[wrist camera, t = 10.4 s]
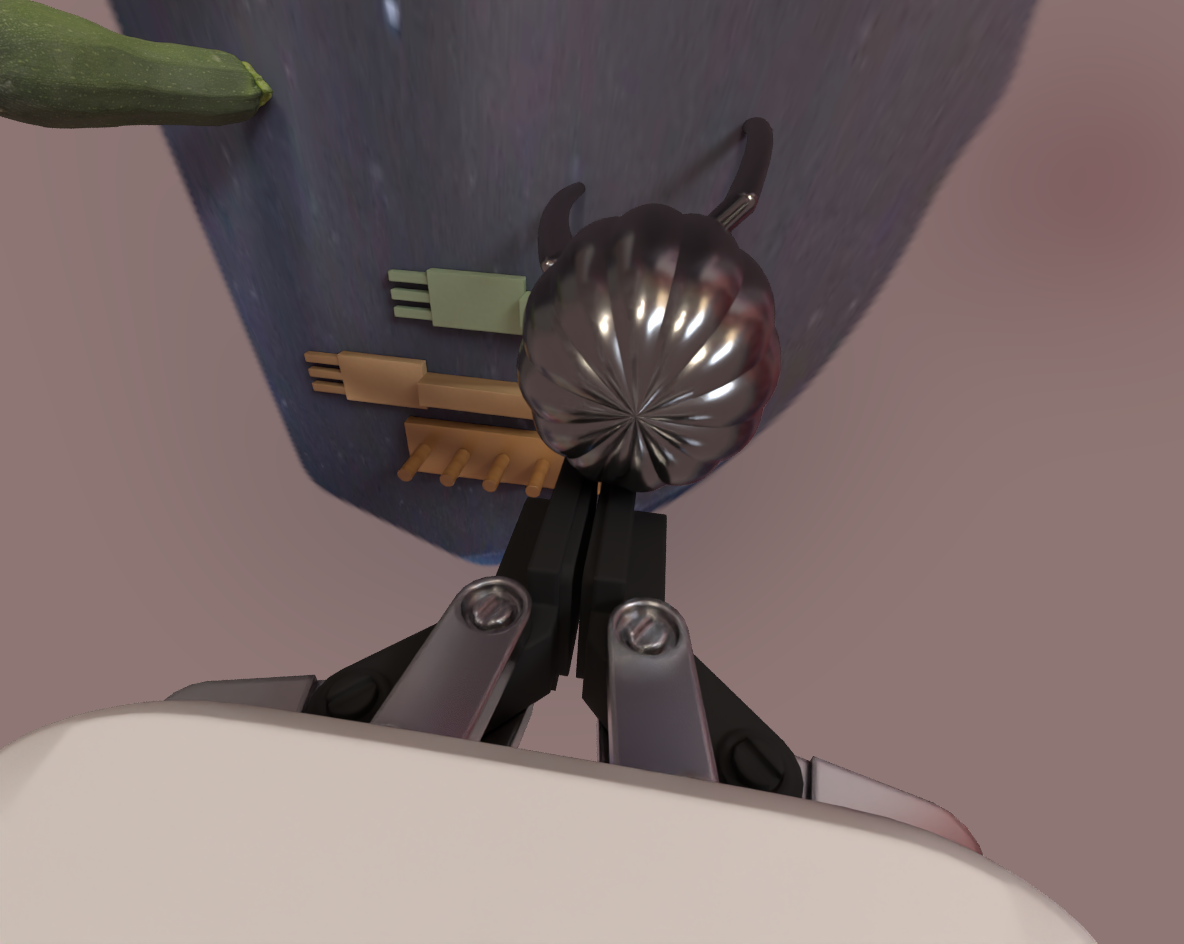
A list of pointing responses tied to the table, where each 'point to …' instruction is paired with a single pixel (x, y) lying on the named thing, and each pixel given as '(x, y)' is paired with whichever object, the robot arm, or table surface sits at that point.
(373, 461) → the table surface
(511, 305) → the sage fork
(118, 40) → the vegetable
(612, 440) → the juicer
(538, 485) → the rack
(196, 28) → the table surface
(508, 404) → the birch fork
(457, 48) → the table surface
